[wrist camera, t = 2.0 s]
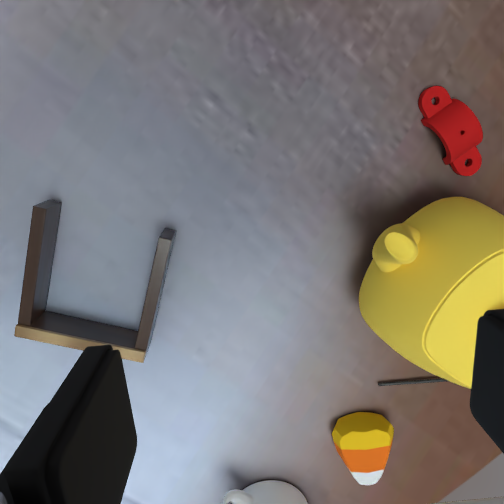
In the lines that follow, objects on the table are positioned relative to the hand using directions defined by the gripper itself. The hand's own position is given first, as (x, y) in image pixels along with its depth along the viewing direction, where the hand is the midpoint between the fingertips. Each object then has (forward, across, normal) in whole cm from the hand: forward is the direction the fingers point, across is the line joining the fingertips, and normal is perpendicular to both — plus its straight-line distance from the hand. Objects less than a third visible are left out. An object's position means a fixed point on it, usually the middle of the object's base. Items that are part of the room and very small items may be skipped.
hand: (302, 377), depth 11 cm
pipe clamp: (+25, -16, -4) cm, 30 cm away
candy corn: (+24, -9, +22) cm, 33 cm away
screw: (+24, -15, +19) cm, 34 cm away
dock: (+25, +14, +5) cm, 29 cm away
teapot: (+25, -14, +7) cm, 30 cm away
